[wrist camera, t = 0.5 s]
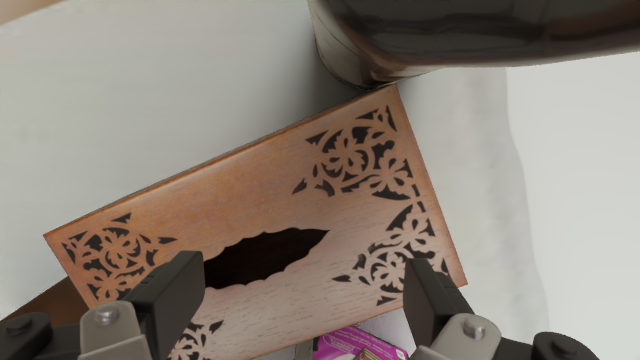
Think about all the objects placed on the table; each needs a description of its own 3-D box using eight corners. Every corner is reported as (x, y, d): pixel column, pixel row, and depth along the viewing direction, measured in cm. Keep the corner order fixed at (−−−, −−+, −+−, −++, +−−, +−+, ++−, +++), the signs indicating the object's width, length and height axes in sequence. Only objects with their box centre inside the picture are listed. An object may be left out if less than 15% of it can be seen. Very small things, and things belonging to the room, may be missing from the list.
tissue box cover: (195, 316, 36) (145, 396, 26) (127, 195, 33) (42, 234, 23) (427, 230, 33) (468, 284, 23) (374, 88, 30) (395, 83, 20)
